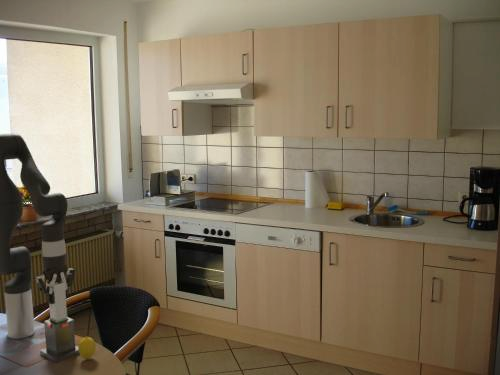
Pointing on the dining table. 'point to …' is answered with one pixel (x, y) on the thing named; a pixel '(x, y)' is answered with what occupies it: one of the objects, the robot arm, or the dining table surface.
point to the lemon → (87, 347)
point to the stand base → (59, 341)
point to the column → (58, 304)
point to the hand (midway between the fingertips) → (57, 301)
